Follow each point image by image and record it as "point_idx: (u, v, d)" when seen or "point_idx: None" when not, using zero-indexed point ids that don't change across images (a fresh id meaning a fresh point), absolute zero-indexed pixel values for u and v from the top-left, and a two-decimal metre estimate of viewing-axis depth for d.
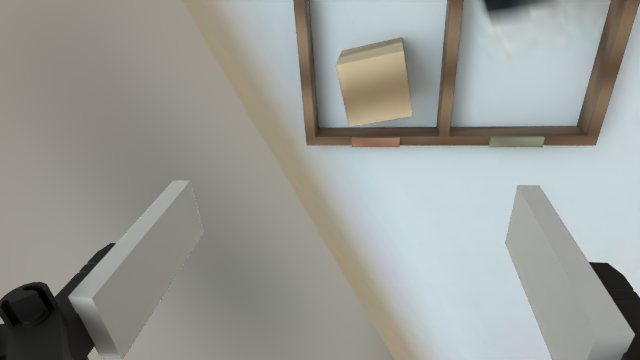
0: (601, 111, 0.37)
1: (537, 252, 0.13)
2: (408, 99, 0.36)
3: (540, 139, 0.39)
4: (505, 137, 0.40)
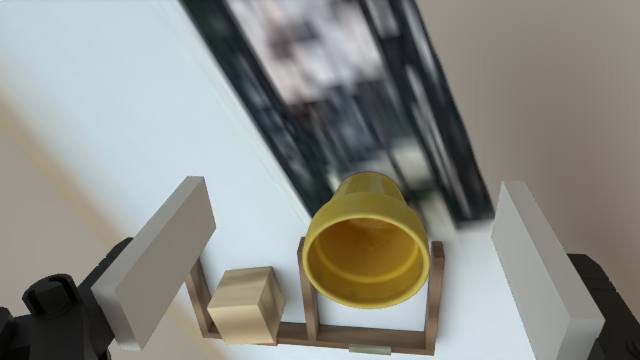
0: (432, 335, 0.45)
1: (519, 244, 0.13)
2: (268, 332, 0.44)
3: (387, 350, 0.47)
4: (360, 346, 0.47)
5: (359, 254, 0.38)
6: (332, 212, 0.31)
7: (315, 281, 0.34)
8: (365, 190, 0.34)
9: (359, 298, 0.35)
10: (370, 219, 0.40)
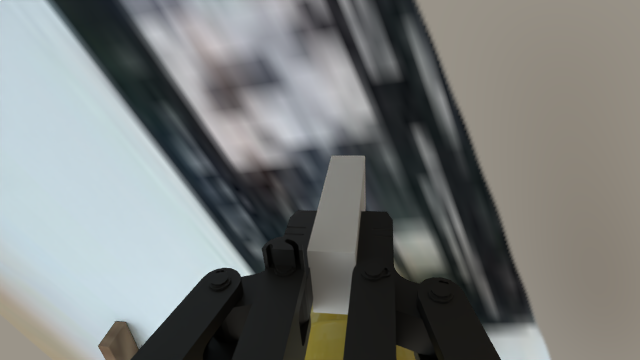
0: None
1: None
2: None
3: None
4: None
5: None
6: None
7: None
8: None
9: None
10: None
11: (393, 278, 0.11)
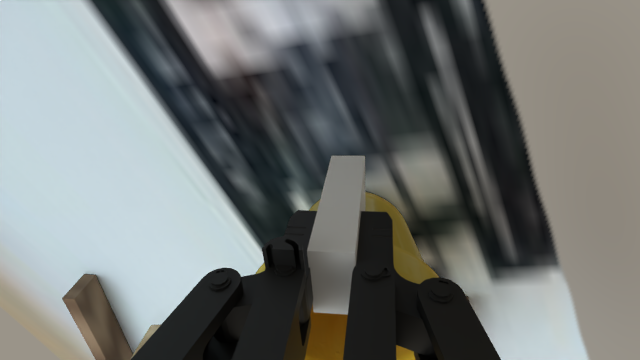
0: None
1: None
2: None
3: None
4: None
5: (339, 324, 0.24)
6: None
7: None
8: None
9: None
10: None
11: (393, 278, 0.11)
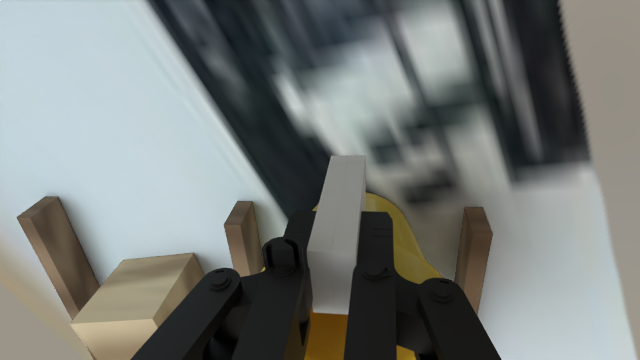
0: None
1: None
2: None
3: None
4: None
5: (344, 326, 0.24)
6: None
7: None
8: None
9: None
10: None
11: (393, 278, 0.11)
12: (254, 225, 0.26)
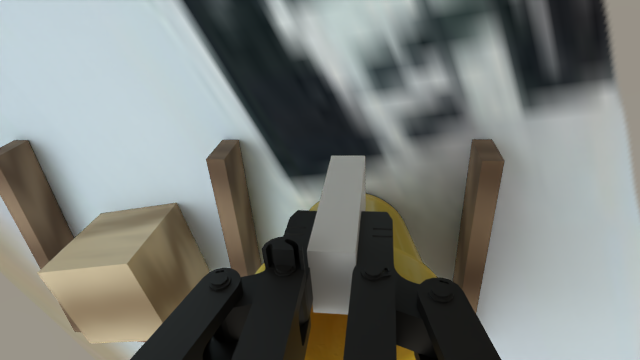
0: None
1: None
2: (158, 320, 0.23)
3: None
4: None
5: (337, 326, 0.24)
6: None
7: None
8: None
9: None
10: None
11: (393, 278, 0.11)
12: (241, 167, 0.24)
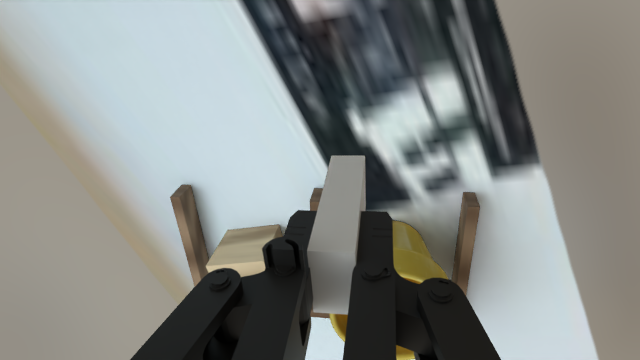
0: None
1: None
2: None
3: None
4: None
5: None
6: None
7: (341, 332, 0.34)
8: None
9: None
10: None
11: (393, 278, 0.11)
12: None
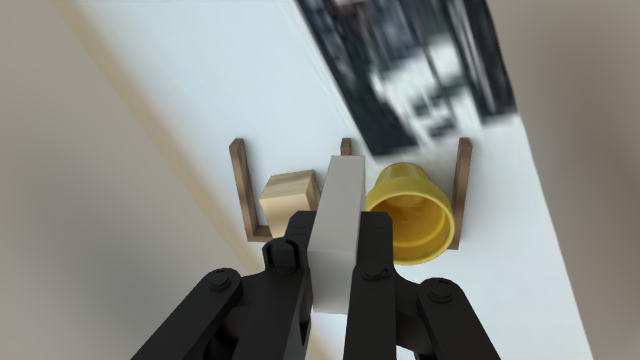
0: (458, 228, 0.51)
1: None
2: None
3: None
4: None
5: (396, 226, 0.50)
6: (384, 191, 0.42)
7: None
8: (406, 175, 0.45)
9: (399, 257, 0.46)
10: (403, 200, 0.52)
11: (393, 278, 0.11)
12: (350, 151, 0.50)
